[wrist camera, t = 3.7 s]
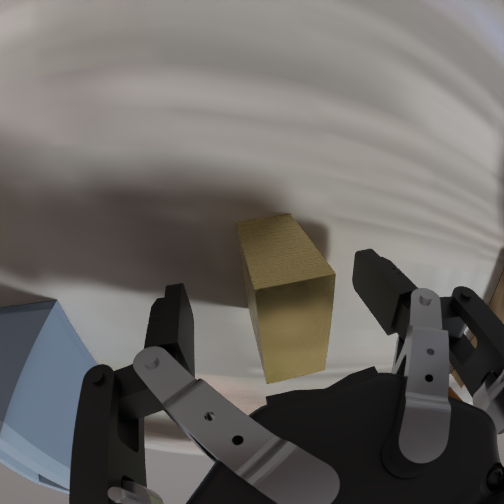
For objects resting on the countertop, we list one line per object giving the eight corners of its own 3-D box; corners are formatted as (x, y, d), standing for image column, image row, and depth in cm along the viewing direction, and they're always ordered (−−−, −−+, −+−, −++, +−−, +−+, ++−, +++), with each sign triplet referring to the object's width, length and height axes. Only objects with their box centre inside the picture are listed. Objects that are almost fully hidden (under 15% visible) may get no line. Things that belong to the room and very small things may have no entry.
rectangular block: (235, 222, 12) (254, 289, 8) (290, 213, 12) (335, 273, 8) (248, 307, 15) (266, 384, 10) (293, 299, 15) (324, 370, 11)
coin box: (-26, 311, 12) (-74, 398, 4) (57, 300, 12) (-1, 437, 5) (49, 405, 17) (33, 482, 10) (134, 410, 18) (130, 506, 11)
